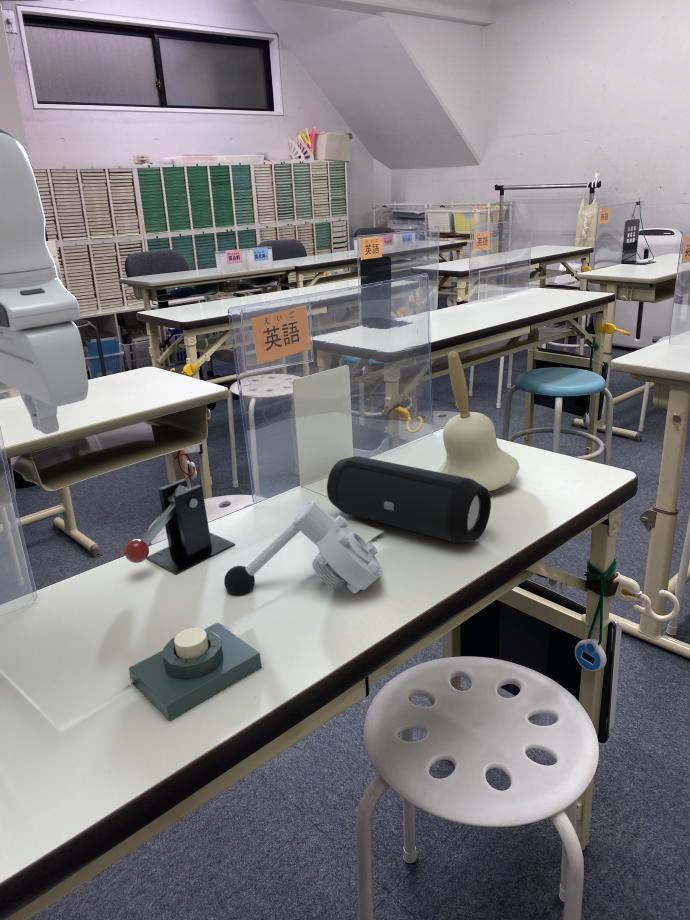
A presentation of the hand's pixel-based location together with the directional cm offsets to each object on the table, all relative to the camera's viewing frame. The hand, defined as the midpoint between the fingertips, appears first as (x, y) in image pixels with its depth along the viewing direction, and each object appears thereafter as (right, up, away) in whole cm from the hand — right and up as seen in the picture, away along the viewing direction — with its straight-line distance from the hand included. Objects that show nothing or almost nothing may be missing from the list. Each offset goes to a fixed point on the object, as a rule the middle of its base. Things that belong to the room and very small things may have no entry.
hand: (46, 430), depth 74 cm
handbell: (+56, -7, +51) cm, 76 cm away
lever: (+6, -14, +27) cm, 31 cm away
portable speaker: (+42, -14, +37) cm, 58 cm away
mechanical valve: (+27, -21, +21) cm, 40 cm away
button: (+15, -25, +4) cm, 29 cm away
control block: (+15, -28, +5) cm, 32 cm away
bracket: (+9, -18, +32) cm, 38 cm away
